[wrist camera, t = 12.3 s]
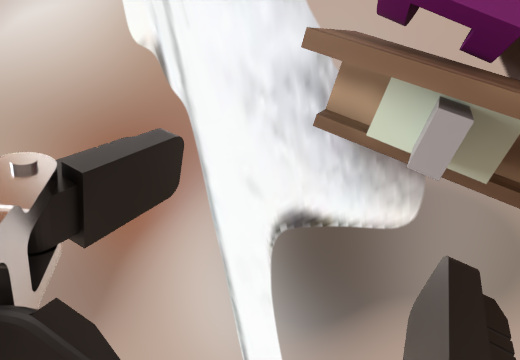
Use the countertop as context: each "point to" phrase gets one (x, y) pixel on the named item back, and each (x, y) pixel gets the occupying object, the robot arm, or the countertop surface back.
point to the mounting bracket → (466, 21)
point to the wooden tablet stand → (418, 73)
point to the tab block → (443, 131)
